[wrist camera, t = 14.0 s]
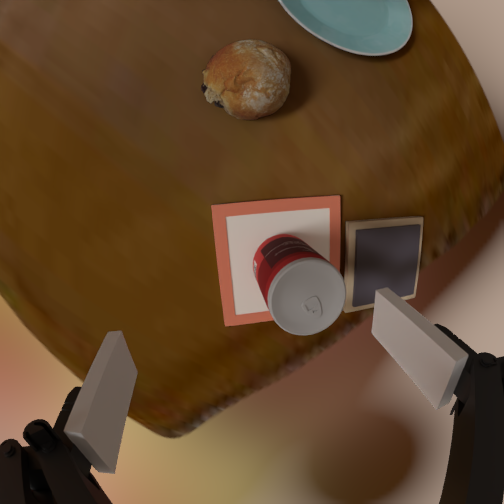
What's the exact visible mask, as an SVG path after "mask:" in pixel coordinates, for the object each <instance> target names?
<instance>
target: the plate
mask: <svg viewBox="0 0 504 504" xmlns="http://www.w3.org/2000/svg"><path fill="white" fill-rule="evenodd" d="M278 1H279V2H280V4H281V5H282V7H283V8H284V9H285V10H286V12H287V13H288V14H289V15H290V16H291V17H292V18H293V19H294V20H295V21H296V22H297V23H298V24H300V25H301V26H302V27H303V28H304V29H306V30H307V31H308V32H310V33H311V34H313V35H314V36H316V37H317V38H319V39H321V40H322V41H324V42H326V43H328V44H330V45H332V46H334V47H336V48H339V49H342V50H344V51H347V52H351V53H355V54H360V55H366V56H382V55H387V54H391V53H394V52H396V51H398V50H400V49H401V48H402V47H403V46H404V45H405V44H406V43H407V41H408V40H409V38H410V36H411V32H412V25H413V21H412V13H411V10H410V6H409V4H408V1H407V0H278Z"/></svg>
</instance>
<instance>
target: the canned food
mask: <svg viewBox="0 0 504 504" xmlns="http://www.w3.org/2000/svg"><path fill="white" fill-rule="evenodd" d="M253 272H254V276H255V278H256V281H257V283H258V286H259V288H260V291H261V293H262V295H263V298H264V300H265V303H266V305H267V308H268V309H269V312H270V314H271V316H272V317H273V319H274V320H275V322H276V323H277V324H278V325H279V326H280V327H281V328H282V329H284V330H285V331H287V332H289V333H292V334H296V335H310V334H314V333H317V332H320V331H322V330H324V329H326V328H327V327H328V326H330V325H331V324H332V323H333V322H334V321H335V320H336V319H337V318H338V316H339V315H340V313H341V312H342V309H343V307H344V304H345V300H346V285H345V282H344V279H343V277H342V276H341V274H340V272H339V271H338V270H337V269H336V268H335V267H334V266H333V265H332V264H331V263H330V262H329V261H328V260H327V259H325V258H324V257H323V256H322V255H320V254H319V253H318V252H317V251H315V250H314V249H313V248H312V247H310V246H309V245H308V244H306V243H305V242H304V241H303V240H301V239H300V238H298V237H296V236H293V235H289V234H279V235H275V236H272V237H270V238H268V239H266V240H265V241H264V242H263V243H262V244H261V245H260V246H259V247H258V249H257V251H256V253H255V255H254V258H253Z"/></svg>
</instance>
